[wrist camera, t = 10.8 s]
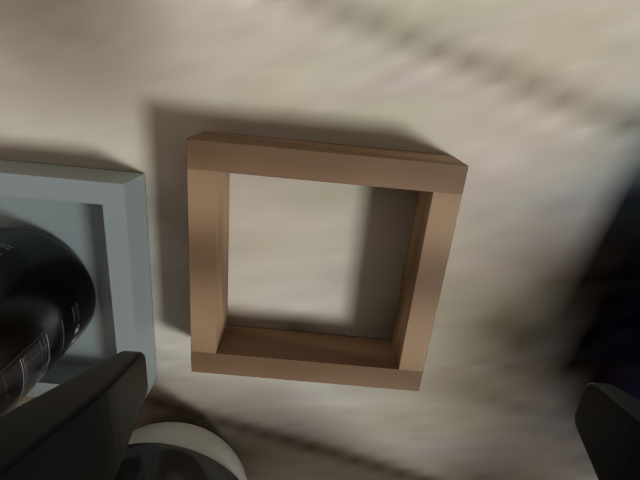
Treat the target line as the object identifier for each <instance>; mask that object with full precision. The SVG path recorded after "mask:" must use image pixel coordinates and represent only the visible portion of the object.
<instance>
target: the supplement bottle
mask: <svg viewBox="0 0 640 480" xmlns="http://www.w3.org/2000/svg"><path fill="white" fill-rule="evenodd" d="M95 307H96V292H95V287H94V284H93V281H92V278H91V276H90V274H89V272H88V270H87V269H86V267H85V265H84V264H83V263H82V261H81V260H80V259H79V258H78V257H77V256H76V255H75V254H74V253H73V252H72V251H71V250H70V249H69V248H67V247H66V246H65V245H63V244H62V243H60V242H59V241H57V240H55V239H54V238H52V237H50V236H47V235H45V234H42V233H40V232H36V231H33V230H28V229H23V228H0V416H2V415H4V414H6V413H8V412H10V411H12V410H13V409H14V408H15V407H16V406H17V405H18V404H19V403H20V402H21V401H22V400H23V398H24V397H25V396H26V395H27V394H28V393H29V392H30V391H31V390H32V389H33V388H34V386H35V385H36V384H37V383H38V382H39V381H40V380H41V379H42V378H43V377H44V375H45V374H46V373H47V372H48V371H49V370H50V369H51V368H52V367H53V366H54V364H55V363H56V362H57V361H58V360H59V359H60V358H61V357H62V356H63V355H64V353H65V352H66V351H67V350H68V349H69V348H70V347H71V346H72V345H73V344H74V343H75V341H76V340H77V339H78V338H79V337H80V336H81V334H82V333H83V332H84V331H85V330H86V328H87V327H88V325H89V324H90V322H91V320H92V318H93V315H94V312H95Z"/></svg>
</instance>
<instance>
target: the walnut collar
mask: <svg viewBox="0 0 640 480" xmlns="http://www.w3.org/2000/svg"><path fill="white" fill-rule="evenodd" d="M186 140H187V185H188V230H189V276H190V321H191V367H192V371H193V372H204V373H216V374H227V375H239V376H250V377H262V378H274V379H285V380H297V381H308V382H320V383H331V384H343V385H354V386H366V387H378V388H389V389H401V390H412V391H419V388H420V383H421V379H422V374H423V369H424V365H425V360H426V356H427V351H428V347H429V342H430V338H431V333H432V329H433V324H434V320H435V315H436V311H437V306H438V302H439V297H440V293H441V288H442V283H443V279H444V274H445V270H446V265H447V261H448V256H449V252H450V247H451V243H452V238H453V234H454V229H455V225H456V220H457V216H458V211H459V206H460V202H461V197H462V193H463V188H464V184H465V179H466V175H467V170H468V166H467V165H466V164H464V163H463V162H461V161H460V160H458V159H456V158H455V157H453V156H452V155H443V154H432V153H422V152H411V151H401V150H391V149H380V148H370V147H359V146H349V145H339V144H328V143H318V142H308V141H297V140H287V139H276V138H266V137H256V136H245V135H235V134H224V133H214V132H201V133H199V134H197V135H195V136H192V137H190V138H188V139H186ZM229 173H237V174H248V175H258V176H269V177H279V178H290V179H300V180H311V181H321V182H332V183H343V184H353V185H364V186H374V187H385V188H395V189H406V190H416V191H419V192H418V198H417V203H416V209H415V214H414V220H413V225H412V231H411V236H410V242H409V247H408V253H407V258H406V264H405V269H404V275H403V280H402V286H401V291H400V297H399V302H398V308H397V313H396V319H395V324H394V330H393V335H392V340H387V339H376V338H365V337H353V336H342V335H331V334H320V333H308V332H297V331H286V330H274V329H263V328H252V327H241V326H229V325H227V302H228V233H229Z"/></svg>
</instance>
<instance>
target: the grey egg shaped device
mask: <svg viewBox="0 0 640 480" xmlns="http://www.w3.org/2000/svg"><path fill="white" fill-rule="evenodd" d="M113 480H247V476H246V473H245V471H244V468H243V466H242V464H241V462H240V460H239V458H238V457H237V455H236V454H235V452H234V451H233V450H232V449H231V447H230V446H229V445H228V444H227V443H226V442H225V441H223V440H222V439H221V438H220V437H218V436H217V435H215V434H214V433H212V432H210V431H208V430H206V429H204V428H201V427H199V426H196V425H192V424H188V423H182V422H161V423H154V424H150V425H146V426H143V427H140V428H138V429H135V430H133V433H132V435H131V438H130V441H129V443H128V446H127V448H126V451H125V454H124V456H123V459H122V461H121V464H120V466H119V468H118V471H117V473H116V475H115V477H114V479H113Z"/></svg>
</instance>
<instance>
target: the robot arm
mask: <svg viewBox="0 0 640 480" xmlns="http://www.w3.org/2000/svg"><path fill="white" fill-rule="evenodd" d="M147 392H148V379H147V368H146V359H145V355H144V354H143V353H142V352H137V351H121V352H119V353H117V354H116V355H114V356H112V357H110V358H108V359H106V360H104V361H103V362H101V363H99V364H97V365H95V366H93V367H91V368H90V369H88V370H86V371H84V372H82V373H80V374H78V375H77V376H75V377H73V378H71V379H69V380H67V381H65V382H64V383H62V384H60V385H58V386H56V387H54V388H52V389H51V390H49V391H47V392H45V393H43V394H41V395H39V396H38V397H36V398H34V399H32V400H30V401H28V402H26V403H25V404H23V405H21V406H19V407H17V408H15V409H13V410H12V411H10V412H8V413H6V414H4V415H2V416H0V480H113V479H114V477H115V475H116V473H117V471H118V468H119V466H120V464H121V461H122V459H123V456H124V454H125V451H126V448H127V446H128V443H129V441H130V438H131V435H132V433H133V430H134V428H135V425H136V422H137V420H138V417H139V415H140V412H141V409H142V407H143V404H144V402H145V399H146V396H147ZM575 424H576V428H577V430H578V433H579V435H580V437H581V440H582V442H583V444H584V447H585V449H586V451H587V454H588V456H589V458H590V461H591V463H592V465H593V468H594V470H595V472H596V475H597V477H598V479H599V480H640V400H638V399H637V398H635V397H633V396H631V395H629V394H628V393H626V392H624V391H622V390H620V389H619V388H617V387H615V386H613V385H611V384H605V383H588V384H587V385H586V386H585V387H584V390H583V392H582V395H581V398H580V401H579V404H578V407H577V410H576V413H575Z"/></svg>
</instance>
